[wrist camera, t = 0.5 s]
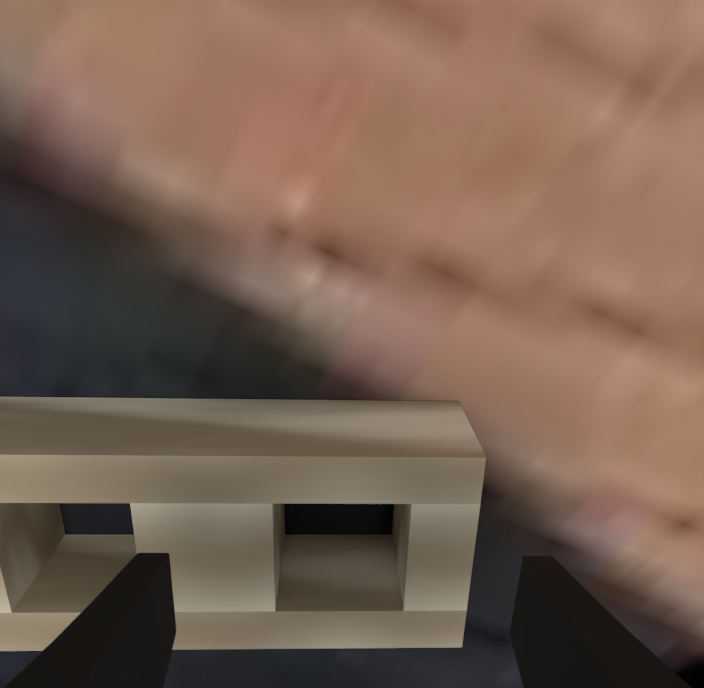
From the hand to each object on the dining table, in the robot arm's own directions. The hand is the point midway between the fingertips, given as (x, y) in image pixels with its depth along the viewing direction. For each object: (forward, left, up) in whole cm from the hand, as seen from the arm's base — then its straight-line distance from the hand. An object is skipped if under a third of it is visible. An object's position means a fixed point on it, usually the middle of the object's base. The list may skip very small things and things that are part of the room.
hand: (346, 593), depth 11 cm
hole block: (-4, +5, -10) cm, 12 cm away
